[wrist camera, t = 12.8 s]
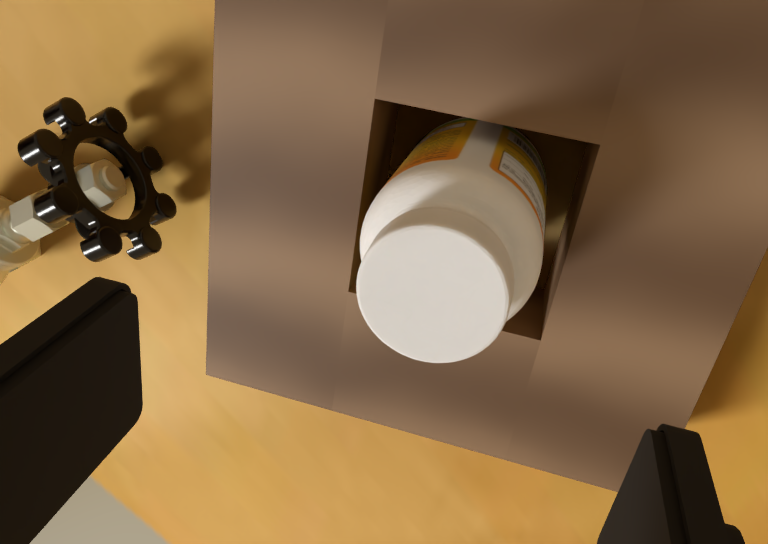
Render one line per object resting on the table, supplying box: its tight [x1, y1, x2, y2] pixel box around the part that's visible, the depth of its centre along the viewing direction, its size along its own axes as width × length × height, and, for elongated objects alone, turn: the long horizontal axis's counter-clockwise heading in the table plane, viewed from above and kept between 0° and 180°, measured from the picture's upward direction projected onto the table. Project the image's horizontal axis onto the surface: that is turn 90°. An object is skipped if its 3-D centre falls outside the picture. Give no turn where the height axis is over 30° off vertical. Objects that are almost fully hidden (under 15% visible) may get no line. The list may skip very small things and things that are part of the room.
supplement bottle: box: [356, 117, 547, 363], centre depth 21 cm, size 5×5×10 cm
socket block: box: [206, 0, 768, 492], centre depth 23 cm, size 18×18×4 cm
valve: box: [0, 97, 176, 285], centre depth 28 cm, size 7×7×12 cm
